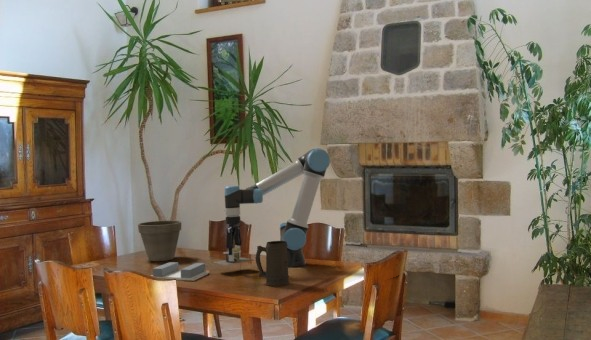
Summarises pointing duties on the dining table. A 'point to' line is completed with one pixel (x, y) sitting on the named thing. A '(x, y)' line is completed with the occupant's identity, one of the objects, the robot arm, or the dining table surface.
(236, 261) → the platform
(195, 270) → the tray with grey blocks
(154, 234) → the plant pot
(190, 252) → the dining table surface
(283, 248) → the beer stein
